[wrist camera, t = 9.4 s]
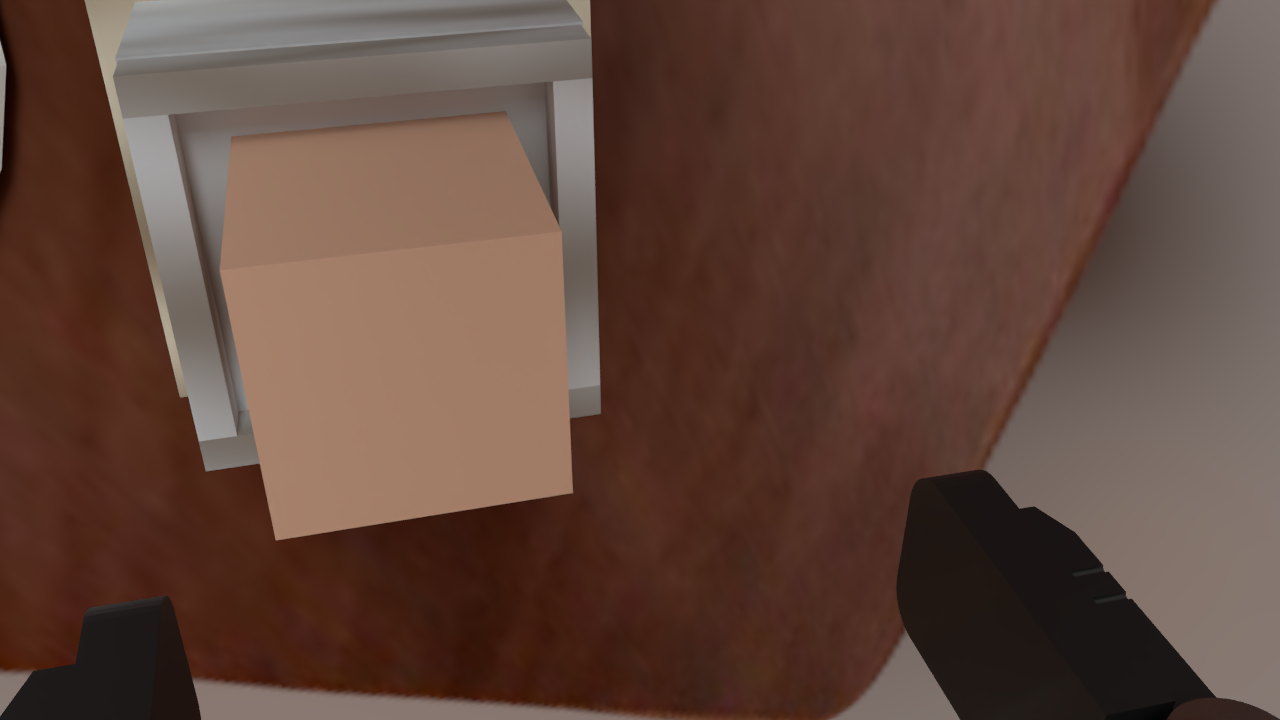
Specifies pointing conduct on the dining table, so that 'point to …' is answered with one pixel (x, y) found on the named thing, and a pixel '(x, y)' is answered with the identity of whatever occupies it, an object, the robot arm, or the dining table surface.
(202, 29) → the stepped translucent block
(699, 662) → the dining table surface
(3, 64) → the white curved strip
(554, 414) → the top block
